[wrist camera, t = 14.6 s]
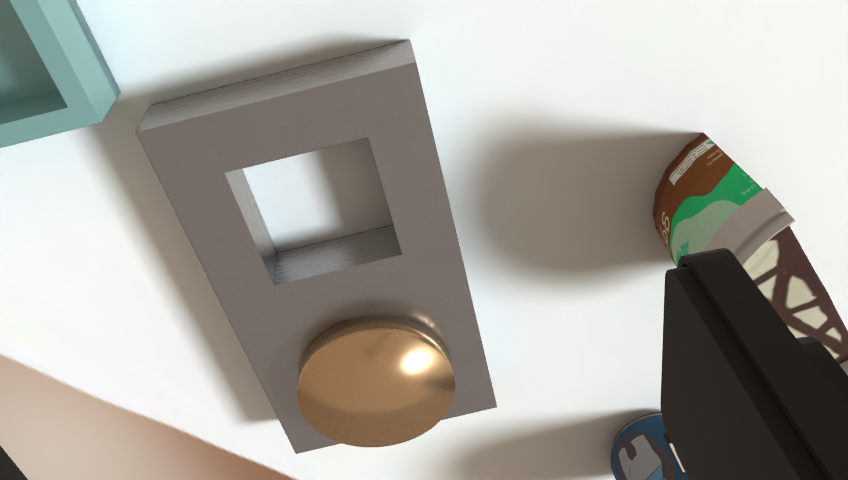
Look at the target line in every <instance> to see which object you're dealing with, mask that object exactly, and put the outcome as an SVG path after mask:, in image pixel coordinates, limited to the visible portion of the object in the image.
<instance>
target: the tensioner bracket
mask: <svg viewBox="0 0 848 480" xmlns="http://www.w3.org/2000/svg"><path fill="white" fill-rule="evenodd" d="M136 134H137V136H138V138H139V140H140V142H141V144H142V146H143V148H144V150H145V152H146V154H147V156H148V158H149V160H150V162H151V164H152V166H153V168H154V170H155V172H156V174H157V176H158V178H159V180H160V182H161V184H162V186H163V188H164V190H165V192H166V194H167V196H168V198H169V200H170V202H171V204H172V206H173V208H174V210H175V212H176V214H177V216H178V218H179V220H180V222H181V224H182V226H183V228H184V230H185V232H186V234H187V236H188V238H189V240H190V242H191V244H192V246H193V248H194V250H195V252H196V254H197V256H198V258H199V260H200V262H201V264H202V266H203V268H204V270H205V272H206V274H207V276H208V278H209V280H210V282H211V284H212V286H213V288H214V290H215V292H216V294H217V296H218V298H219V300H220V302H221V304H222V306H223V308H224V310H225V312H226V314H227V316H228V319H229V321H230V323H231V325H232V327H233V329H234V331H235V333H236V335H237V337H238V339H239V341H240V343H241V345H242V347H243V349H244V351H245V353H246V355H247V357H248V359H249V361H250V363H251V365H252V367H253V369H254V371H255V373H256V375H257V377H258V379H259V381H260V383H261V385H262V387H263V389H264V391H265V393H266V395H267V397H268V399H269V401H270V403H271V405H272V407H273V409H274V411H275V413H276V415H277V417H278V419H279V421H280V423H281V425H282V427H283V429H284V431H285V433H286V435H287V437H288V439H289V441H290V443H291V445H292V447H293V449H294V451H295V453H296V454H298V453H302V452H306V451H310V450H315V449H319V448H323V447H328V446H332V445H336V444H340V443H343V444H347V445H352V446H358V447H383V446H390V445H395V444H399V443H403V442H406V441H409V440H411V439H414V438H416V437H418V436H420V435H422V434H424V433H425V432H427V431H428V430H430V429H431V428H432V427H434V426H435V425H436V424H437V423H438V422H439V421H440V420H444V419H448V418H452V417H457V416H461V415H465V414H469V413H474V412H478V411H482V410H487V409H491V408H495V407H497V405H496V400H495V396H494V392H493V388H492V383H491V379H490V375H489V371H488V366H487V362H486V358H485V354H484V349H483V345H482V341H481V337H480V332H479V328H478V324H477V320H476V315H475V311H474V307H473V303H472V298H471V294H470V290H469V286H468V281H467V277H466V273H465V269H464V264H463V260H462V256H461V252H460V247H459V243H458V239H457V234H456V230H455V226H454V222H453V217H452V213H451V209H450V205H449V200H448V196H447V192H446V188H445V183H444V179H443V175H442V171H441V166H440V162H439V158H438V154H437V149H436V145H435V141H434V137H433V132H432V128H431V124H430V120H429V115H428V111H427V107H426V103H425V98H424V94H423V90H422V86H421V81H420V77H419V73H418V69H417V64H416V60H415V57H414V53H413V49H412V45H411V42H410V40H407V41H403V42H399V43H395V44H391V45H387V46H383V47H379V48H375V49H371V50H367V51H363V52H359V53H355V54H351V55H347V56H343V57H339V58H335V59H332V60H328V61H324V62H320V63H316V64H312V65H308V66H304V67H300V68H296V69H292V70H288V71H284V72H280V73H276V74H272V75H268V76H264V77H260V78H256V79H252V80H248V81H244V82H240V83H236V84H232V85H229V86H225V87H221V88H217V89H213V90H209V91H205V92H201V93H197V94H193V95H189V96H185V97H181V98H177V99H173V100H169V101H165V102H161V103H157V104H153V105H150V106H149V108H148V110H147V111H146V113H145V115H144V117H143V119H142V121H141V123H140V125H139V127H138V129H137V131H136ZM367 137H368V139H369V143H370V146H371V150H372V153H373V156H374V160H375V163H376V167H377V170H378V173H379V177H380V180H381V184H382V187H383V191H384V194H385V197H386V201H387V204H388V208H389V211H390V214H391V218H392V221H393V225H391V226H387V227H383V228H379V229H375V230H370V231H366V232H362V233H358V234H354V235H350V236H346V237H342V238H338V239H333V240H329V241H325V242H321V243H317V244H313V245H309V246H305V247H301V248H296V249H292V250H288V251H284V252H280V253H277V252H276V249H275V247H274V245H273V242H272V240H271V238H270V235H269V233H268V230H267V228H266V226H265V223H264V221H263V218H262V216H261V214H260V211H259V209H258V206H257V204H256V202H255V199H254V197H253V194H252V192H251V190H250V187H249V185H248V182H247V180H246V178H245V175H244V173H243V170H242V168H246V167H250V166H254V165H258V164H262V163H266V162H271V161H275V160H279V159H283V158H287V157H291V156H295V155H299V154H303V153H307V152H311V151H315V150H319V149H323V148H327V147H331V146H335V145H339V144H343V143H347V142H351V141H355V140H359V139H363V138H367Z"/></svg>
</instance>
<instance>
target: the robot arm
mask: <svg viewBox="0 0 848 480" xmlns="http://www.w3.org/2000/svg"><path fill="white" fill-rule="evenodd" d="M661 413H662V418H663V422H664V425H665V428H666V431H667V433H668V435H669V438H670V440H671V442H672V444H673V446H674V448H675V451H676V453H677V455H678V457H679V459H680V461H681V464H682V466H683V468H684V470H685V472H686V474H687V477H688V479H689V480H848V375H847V374H846V372H845V371H844V370H843V369H842V367H841V366H840V365H839V363H838V362H837V361H836V360H835V358H834V357H833V356H832V354H831V353H830V352H829V351H828V350H827V349H826V348H825V347H824V346H823V344H822V343H821V342H820V341H818V340H816V339H814V338H812V337H800V338H796V337H795V336H794V335H793V333H792V332H791V331H790V329H789V328H788V327H787V325H786V324H785V323H784V321H783V320H782V319H781V317H780V316H779V315H778V313H777V312H776V311H775V309H774V308H773V307H772V305H771V304H770V303H769V301H768V300H767V299H766V297H765V296H764V294H763V293H762V292H761V290H760V289H759V288H758V286H757V285H756V284H755V282H754V281H753V280H752V278H751V277H750V276H749V274H748V273H747V272H746V270H745V269H744V268H743V266H742V265H741V264H740V262H739V261H738V260H737V258H736V257H735V256H734V254H733V253H732V252H731V251H730V250H729V249H727V248H720V249H715V250H709V251H704V252H699V253H694V254H689V255H683V256H681V257H680V259H679V261H678V266H677V268H675V269H670V270H667V272H666V275H665V295H664V324H663V353H662V381H661ZM0 480H28V479H27V478H26V477H25V476H24V474H23V473H22V472H21V471H20V470H19V468H18V467H17V466H16V464H15V463H14V462H13V461H12V460H11V458H10V457H9V456H8V455H7V453H6V452H5V451H4V450H3V448H2V447H1V446H0Z"/></svg>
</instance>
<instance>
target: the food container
mask: <svg viewBox="0 0 848 480" xmlns="http://www.w3.org/2000/svg"><path fill="white" fill-rule="evenodd" d="M653 216H654V221H655V225H656V229H657V231H658V233H659V234H660V236H661V238H662V240H663V242H664V244H665V246H666V248H667V250H668V251H669V253H670V255H671V257H672V259H673V261H674V263H675V265H676V267H677V266H678V261H679V259H680V257H681V256H683V255H689V254H694V253H699V252H704V251H709V250H715V249H720V248H727V249H729V250H730V251H731V252H732V253H733V254H734V256H735V257H736V258H737V260H738V261H739V262H740V264H741V265H742V266H743V268H744V269H745V270H746V272H747V273H748V274H749V276H750V277H751V278H752V280H753V281H754V282H755V284H756V285H757V286H758V288H759V289H760V290H761V292H762V293H763V294H764V296H765V297H766V299H767V300H768V301H769V303H770V304H771V305H772V307H773V308H774V309H775V311H776V312H777V313H778V315H779V316H780V317H781V319H782V320H783V321H784V323H785V324H786V325H787V327H788V328H789V329H790V331H791V332H792V333H793V335H794V336H795V337H796V338H800V337H812V338H814V339H816V340H818V341H820V342H821V343H822V344H823V346H824V347H825V348H826V349H827V350H828V351H829V352H830V353H831V354H832V356H833V357H834V358H835V360H836V361H837V362H838V363H839V365H840V366H841V367H842V369H843V370H844V371H845V372H846V374H847V375H848V331H847V329H846V327H845V325H844V323H843V322H842V320H841V318H840V316H839V314H838V312H837V310H836V308H835V306H834V304H833V302H832V300H831V298H830V296H829V294H828V292H827V291H826V289H825V287H824V286H823V284H822V282H821V281H820V279H819V277H818V276H817V274H816V272H815V271H814V269H813V267H812V265H811V263H810V262H809V260H808V258H807V256H806V255H805V253H804V251H803V249H802V247H801V246H800V244H799V242H798V240H797V239H796V237H795V235H794V233H793V231H792V230H791V228H790V226H789V225H790V224H792V223H793V222H795V220H794V219H793V218H792V217H791V216H790V215H789V214H788V213H787V212H786V210H785V208H784V207H783V206H782V205H781V204H780V202H779V201H778V200H777V199H776V198H775V197H774V196H773V195H772V194H771V192H770V191H769V190H768V189H767V188H765V189H762V188H761V187H760V186H759V185H758V184H757V183H756V182H755V181H754V180H753V179H752V178H751V177H750V176H749V175H747V174H746V173H745V172H744V171H743V170H742V169H741V168H740V167H739V166H738V165H737V164H736V163H735V162H734V161H733V160H732V159H731V158H730V157H729V156H728V155H726V154H725V153H724V152H723V151H722V150H721V149H720V148H719V147H718V146H717V145H716V144H715V143H714V142H713V141H712V140H711V139H710V138H709V137H708V136H707V135H705V134H704V133H702V134H701V135H700V136H699V137H697V138H696V139H695V140H693V141H692V142H691V143H689V144H688V145H687V146H685V148H684V149H683V150H682V151H681V152H680V153H679V155H678V156H677V157H676V158H675V159H674V160H673V162H672V163H671V164H670V165H669V166H668V167H667V169H666V171H665V173H664V175H663V177H662V179H661V181H660V183H659V185H658V188H657V190H656V192H655V200H654V208H653Z"/></svg>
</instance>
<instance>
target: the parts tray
mask: <svg viewBox="0 0 848 480" xmlns="http://www.w3.org/2000/svg"><path fill="white" fill-rule="evenodd" d="M120 92H121V91H120V89H119V87H118V85H117V83H116V81H115V79H114V77H113V75H112V73H111V71H110V69H109V67H108V65H107V63H106V61H105V59H104V57H103V55H102V53H101V51H100V49H99V47H98V45H97V43H96V41H95V39H94V37H93V35H92V33H91V31H90V29H89V27H88V25H87V23H86V21H85V18H84V16H83V14H82V12H81V10H80V8H79V6H78V4H77V2H76V0H0V148H2V147H6V146H10V145H14V144H18V143H22V142H26V141H30V140H34V139H38V138H42V137H46V136H50V135H54V134H58V133H62V132H66V131H70V130H74V129H78V128H82V127H86V126H90V125H94V124H98V123H101V122H102V121H103V119H104V117H105V116H106V114H107V113H108V111H109V109H110V108H111V106H112V105H113V103H114V101H115V100H116V98H117V97H118V95H119V93H120Z"/></svg>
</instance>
